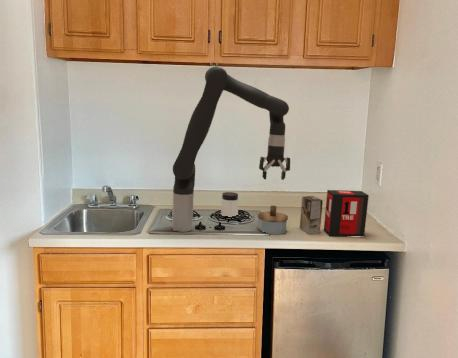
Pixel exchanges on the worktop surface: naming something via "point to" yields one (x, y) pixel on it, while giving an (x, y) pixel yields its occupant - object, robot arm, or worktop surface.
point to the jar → (229, 204)
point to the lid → (273, 216)
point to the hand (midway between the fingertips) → (273, 179)
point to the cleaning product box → (345, 213)
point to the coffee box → (311, 214)
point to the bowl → (272, 227)
